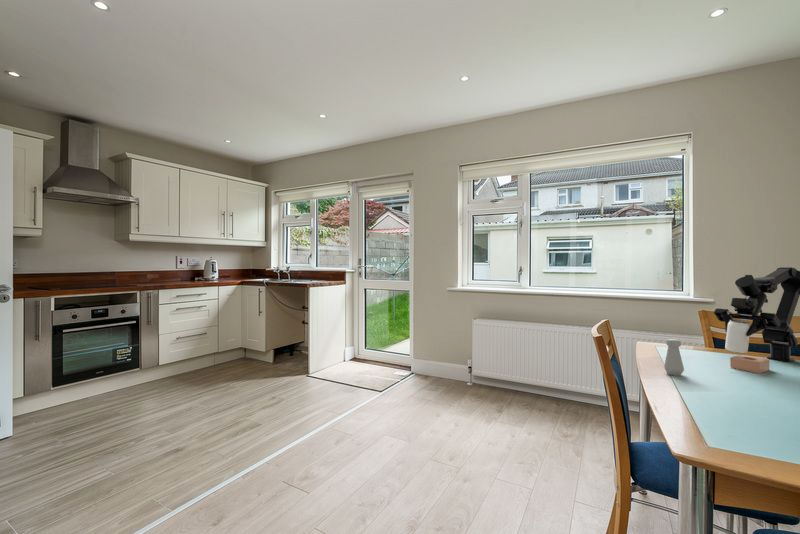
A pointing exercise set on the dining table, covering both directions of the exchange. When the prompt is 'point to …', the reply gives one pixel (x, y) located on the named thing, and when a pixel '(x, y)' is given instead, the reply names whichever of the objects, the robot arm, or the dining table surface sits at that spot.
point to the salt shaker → (673, 358)
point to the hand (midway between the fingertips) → (736, 333)
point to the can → (737, 336)
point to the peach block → (749, 363)
